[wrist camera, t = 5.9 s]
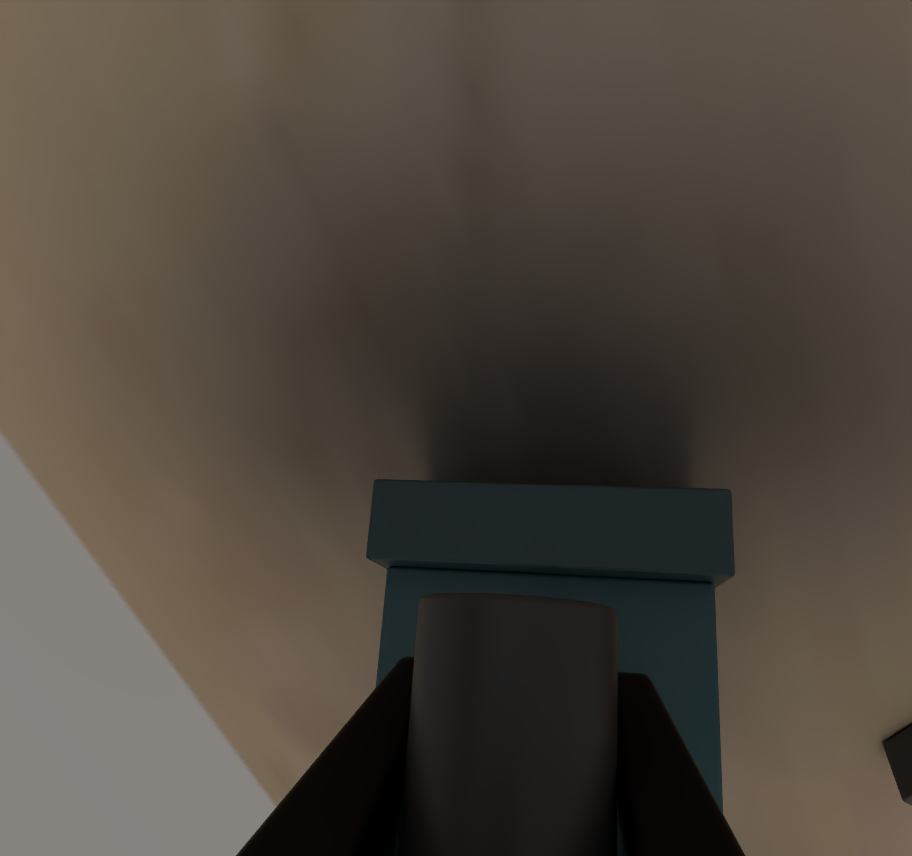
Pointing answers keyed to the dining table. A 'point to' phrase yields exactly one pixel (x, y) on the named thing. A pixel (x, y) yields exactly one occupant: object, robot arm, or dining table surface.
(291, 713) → the dining table surface
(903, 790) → the switch block
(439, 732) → the iron
